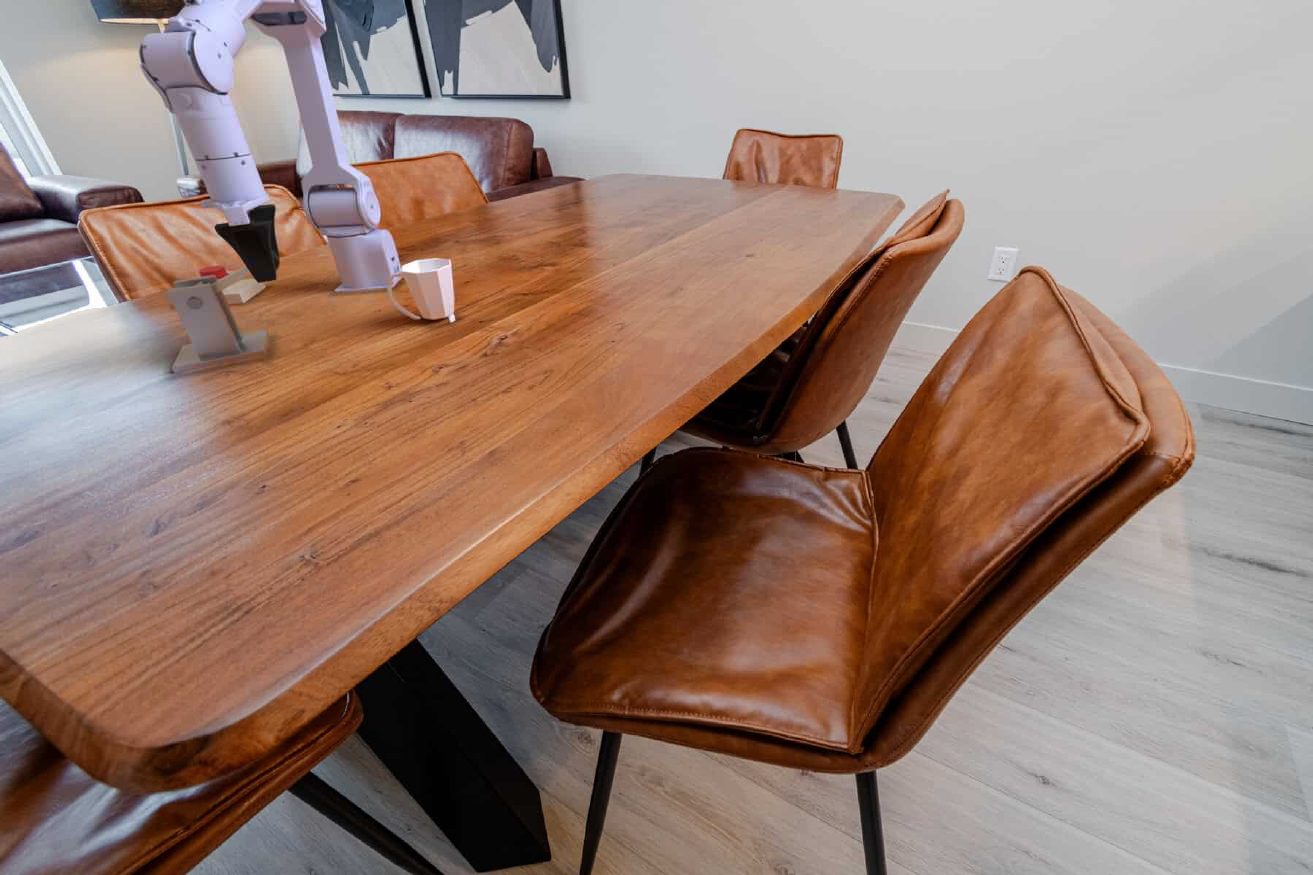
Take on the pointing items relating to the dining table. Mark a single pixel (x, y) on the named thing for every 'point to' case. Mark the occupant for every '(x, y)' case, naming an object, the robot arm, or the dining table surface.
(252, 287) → the control block
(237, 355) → the bracket
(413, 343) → the dining table surface
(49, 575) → the dining table surface
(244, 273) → the lever
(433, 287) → the cup
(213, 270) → the button
